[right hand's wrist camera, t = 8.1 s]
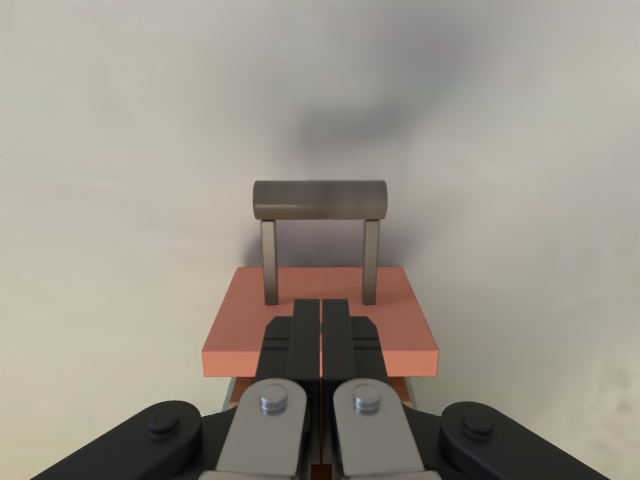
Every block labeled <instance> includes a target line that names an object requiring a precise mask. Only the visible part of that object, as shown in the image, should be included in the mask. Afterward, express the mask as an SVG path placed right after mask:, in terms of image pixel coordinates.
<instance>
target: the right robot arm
mask: <svg viewBox="0 0 640 480" xmlns="http://www.w3.org/2000/svg"><path fill="white" fill-rule="evenodd" d="M322 413H323V464H332V480H610V479H608V478H607V477H605V476H603V475H602V474H600V473H599V472H597V471H595V470H594V469H592V468H590V467H589V466H587V465H586V464H584V463H582V462H581V461H579V460H577V459H576V458H574V457H572V456H571V455H569V454H568V453H566V452H564V451H563V450H561V449H559V448H558V447H556V446H555V445H553V444H551V443H550V442H548V441H546V440H545V439H543V438H542V437H540V436H538V435H537V434H535V433H533V432H532V431H530V430H528V429H527V428H525V427H524V426H522V425H520V424H519V423H517V422H515V421H514V420H512V419H511V418H509V417H507V416H506V415H504V414H502V413H501V412H499V411H497V410H496V409H494V408H492V407H490V406H487V405H484V404H481V403H476V402H468V401H467V402H457V403H454V404H451V405H450V406H448V407H447V408H446V409H445V410H444V411H443V412H442V415H441V417H440V416H436V415H432V414H428V413H424V412H420V411H417V410H415V409H412V408H410V407H408V406H406V405H405V404H403V403H402V402H401V401H400V398H399V396H398V394H397V393H396V391H395V390H394V389H393V388H392V387H390V384H389V379H388V375H387V370H386V366H385V362H384V357H383V353H382V350H381V344H380V340H379V335H378V331H377V326H376V325H375V324H374V323H373V322H372V321H371V320H370V319H369V318H368V317H367V316H350V313H349V305H348V299H322ZM311 464H320V299H294V308H293V316H275V317H274V318H273V319H272V320H271V321H270V322H269V324H268V325H267V326H266V328H265V332H264V337H263V342H262V346H261V351H260V355H259V360H258V365H257V369H256V374H255V378H254V383H253V385H251V386H250V387H248V388H247V389H246V390H245V391H244V393H243V394H242V396H241V398H240V401H239V404H238V405H237V406H235V407H233V408H231V409H229V410H226V411H223V412H220V413H216V414H212V415H208V416H204V417H201V415H200V412H199V411H198V409H197V408H196V407H195V406H194V405H192V404H190V403H188V402H184V401H175V400H174V401H165V402H161V403H157V404H154V405H152V406H150V407H148V408H146V409H144V410H142V411H141V412H139V413H138V414H136V415H134V416H133V417H131V418H129V419H128V420H126V421H125V422H123V423H121V424H120V425H118V426H116V427H115V428H113V429H112V430H110V431H108V432H107V433H105V434H103V435H102V436H100V437H99V438H97V439H95V440H94V441H92V442H90V443H89V444H87V445H85V446H84V447H82V448H81V449H79V450H77V451H76V452H74V453H72V454H71V455H69V456H68V457H66V458H64V459H63V460H61V461H59V462H58V463H56V464H55V465H53V466H51V467H50V468H48V469H46V470H45V471H43V472H41V473H40V474H38V475H37V476H35V477H33V478H32V479H30V480H311Z"/></svg>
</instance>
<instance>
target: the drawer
mask: <svg viewBox="0 0 640 480" xmlns="http://www.w3.org/2000/svg"><path fill="white" fill-rule="evenodd" d="M253 211H254V216H255V219H257V220H261V240H262V260H263V267H238V268H237V270H236V272H235V274H234V277H233V279H232V281H231V284H230V286H229V288H228V291H227V293H226V295H225V298H224V300H223V302H222V305H221V307H220V309H219V312H218V314H217V316H216V319H215V321H214V323H213V326H212V328H211V330H210V333H209V335H208V337H207V340H206V342H205V344H204V347H203V349H202V360H203V369H204V376H205V377H236V378H235V381H234V385H233V389H232V392H231V396H230V399H229V409H231V408H233V407H235V406H237V405H238V404H239V401H240V398H241V396H242V394H243V393H244V391H245V390H246V389H247V388H248V387H250V386H251V385H253V383H254V378H255V374H256V369H257V365H258V360H259V355H260V351H261V346H262V342H263V337H264V332H265V328H266V326H267V325H268V324H269V322H270V321H271V320H272V319H273V318H274V317H275V316H293V308H294V299H320V464H311V480H332V464H323V413H322V299H348V305H349V313H350V316H367V317H368V318H369V319H370V320H371V321H372V322H373V323H374V324H375V325H376V326H377V331H378V335H379V340H380V344H381V350H382V353H383V357H384V362H385V366H386V370H387V375H388V379H389V384H390V387H392V388H393V389H394V390H395V391H396V393H397V394H398V396H399V398H400V401H401V402H402V403H403V404H405V405H406V406H408V407H410V408H412V400H411V397H410V393H409V390H408V386H407V383H406V379H405V376H436V375H437V366H438V357H439V350H438V347H437V345H436V343H435V340H434V338H433V336H432V334H431V331H430V329H429V327H428V324H427V322H426V320H425V318H424V315H423V313H422V311H421V308H420V306H419V304H418V302H417V299H416V297H415V295H414V292H413V290H412V288H411V286H410V283H409V281H408V279H407V276H406V274H405V272H404V270H403V267H377V265H378V245H379V224H380V222H379V220H383V219H385V216H386V212H387V186H386V183H385V181H255V183H254V187H253ZM276 220H364V241H363V267H278V262H277V236H276Z"/></svg>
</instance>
